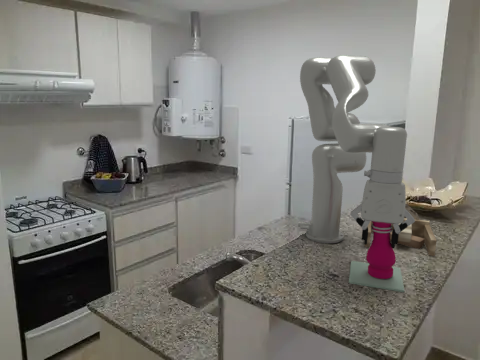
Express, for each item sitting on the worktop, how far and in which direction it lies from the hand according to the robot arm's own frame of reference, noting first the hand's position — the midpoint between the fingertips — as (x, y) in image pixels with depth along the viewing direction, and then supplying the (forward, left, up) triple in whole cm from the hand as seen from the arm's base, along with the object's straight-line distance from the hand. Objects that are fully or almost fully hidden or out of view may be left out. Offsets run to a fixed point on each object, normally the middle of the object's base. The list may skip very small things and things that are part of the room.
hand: (378, 243), depth 96 cm
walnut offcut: (+9, +29, -10) cm, 31 cm away
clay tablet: (+10, +58, -10) cm, 59 cm away
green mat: (0, 0, -9) cm, 9 cm away
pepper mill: (+1, 0, -9) cm, 9 cm away
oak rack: (+7, +28, -9) cm, 30 cm away
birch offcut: (+9, +28, -7) cm, 30 cm away
